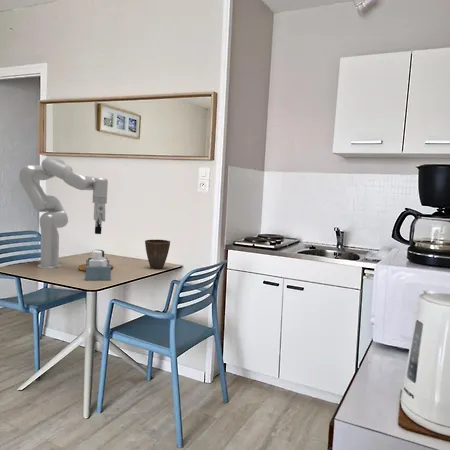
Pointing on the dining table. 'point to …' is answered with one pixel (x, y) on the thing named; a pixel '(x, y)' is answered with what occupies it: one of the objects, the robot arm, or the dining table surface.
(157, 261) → the plant pot
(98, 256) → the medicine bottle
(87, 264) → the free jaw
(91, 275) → the base
